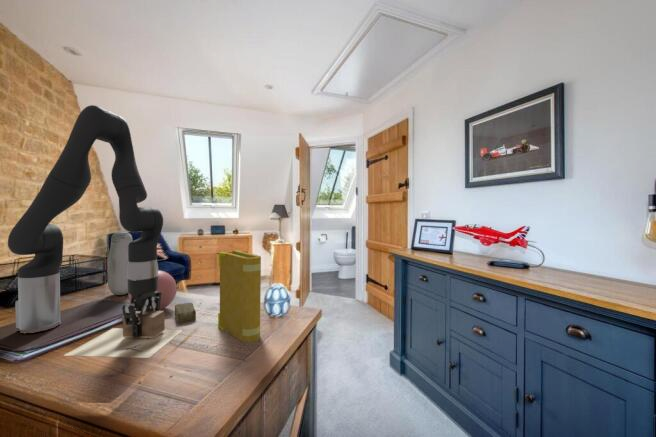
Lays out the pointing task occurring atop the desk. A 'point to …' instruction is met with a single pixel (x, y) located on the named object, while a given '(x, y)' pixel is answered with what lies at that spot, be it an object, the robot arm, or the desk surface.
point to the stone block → (185, 312)
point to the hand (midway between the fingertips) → (143, 332)
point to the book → (240, 294)
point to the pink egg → (165, 289)
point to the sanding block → (147, 325)
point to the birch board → (123, 345)
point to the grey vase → (118, 263)
